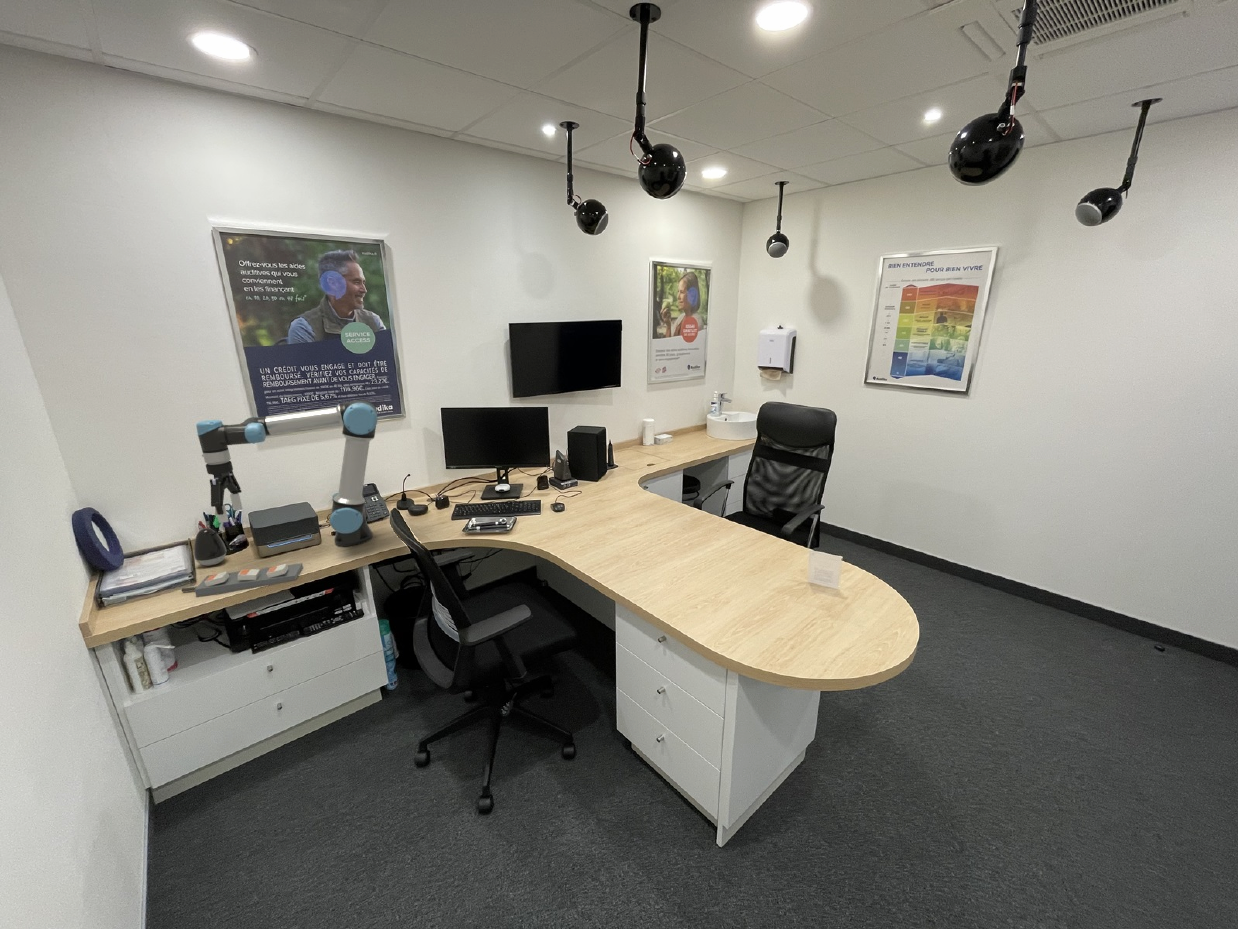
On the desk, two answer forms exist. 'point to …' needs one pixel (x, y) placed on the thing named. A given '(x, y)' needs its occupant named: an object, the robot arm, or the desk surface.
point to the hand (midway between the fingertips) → (231, 515)
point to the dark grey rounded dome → (209, 547)
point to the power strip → (245, 581)
